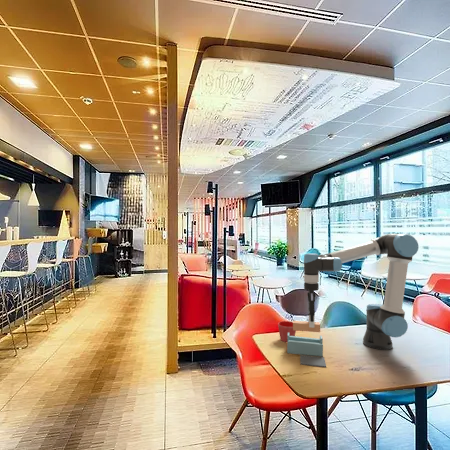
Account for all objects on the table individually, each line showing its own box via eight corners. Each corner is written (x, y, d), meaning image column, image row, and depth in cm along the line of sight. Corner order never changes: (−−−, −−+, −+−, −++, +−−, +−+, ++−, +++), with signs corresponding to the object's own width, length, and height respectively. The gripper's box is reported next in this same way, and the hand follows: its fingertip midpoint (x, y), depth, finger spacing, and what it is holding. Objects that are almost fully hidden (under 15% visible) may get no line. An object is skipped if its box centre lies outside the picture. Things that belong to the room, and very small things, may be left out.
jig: (321, 350, 162) (321, 334, 162) (322, 356, 153) (322, 340, 153) (287, 346, 166) (287, 331, 166) (287, 353, 157) (287, 336, 157)
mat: (324, 358, 151) (324, 357, 151) (326, 367, 141) (326, 366, 141) (299, 356, 153) (300, 354, 153) (300, 364, 144) (300, 363, 144)
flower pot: (291, 345, 168) (292, 328, 168) (274, 340, 175) (274, 324, 175) (299, 339, 176) (299, 323, 177) (282, 335, 183) (282, 319, 183)
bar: (319, 329, 160) (319, 322, 160) (320, 332, 156) (320, 324, 156) (293, 327, 163) (293, 320, 163) (293, 330, 159) (293, 322, 159)
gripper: (303, 279, 168) (303, 320, 168) (304, 284, 152) (304, 330, 151) (317, 279, 167) (317, 321, 166) (319, 285, 150) (320, 331, 150)
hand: (311, 325), depth 159 cm, fingers closed on bar, 4 cm apart
